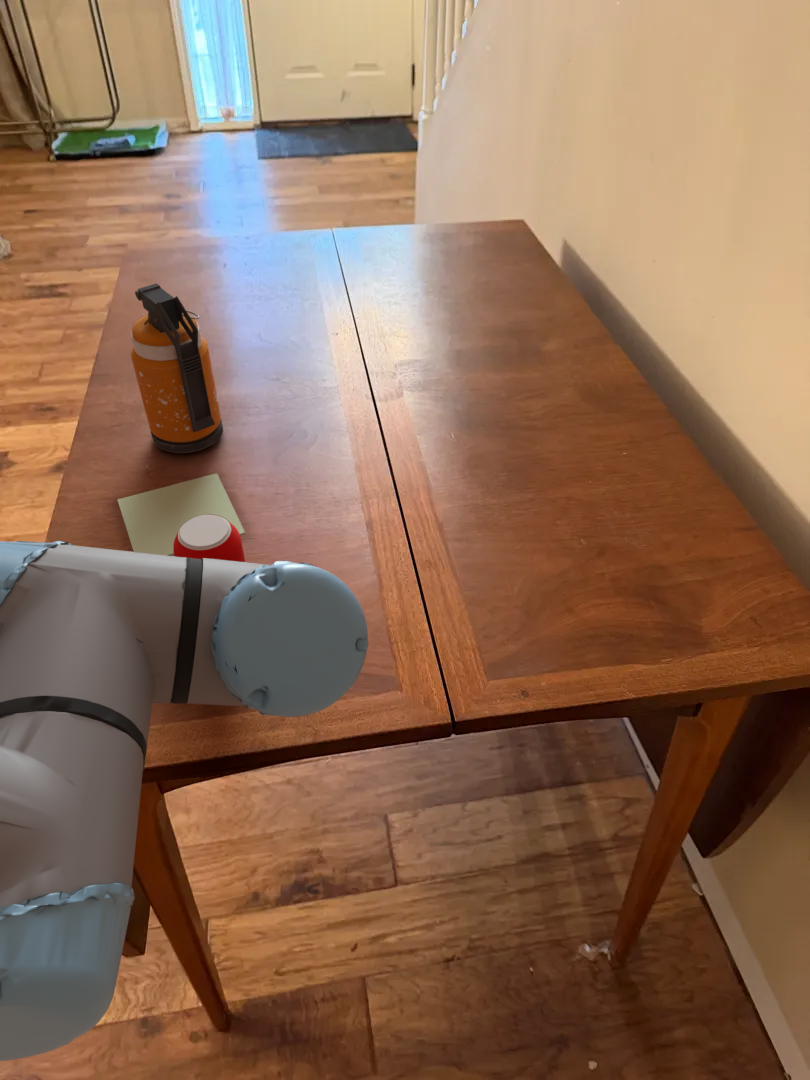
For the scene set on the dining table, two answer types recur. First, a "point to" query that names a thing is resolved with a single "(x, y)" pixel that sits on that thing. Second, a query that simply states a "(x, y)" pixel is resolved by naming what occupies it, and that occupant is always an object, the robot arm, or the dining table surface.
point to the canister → (174, 374)
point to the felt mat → (173, 512)
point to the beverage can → (209, 539)
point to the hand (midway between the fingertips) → (231, 623)
